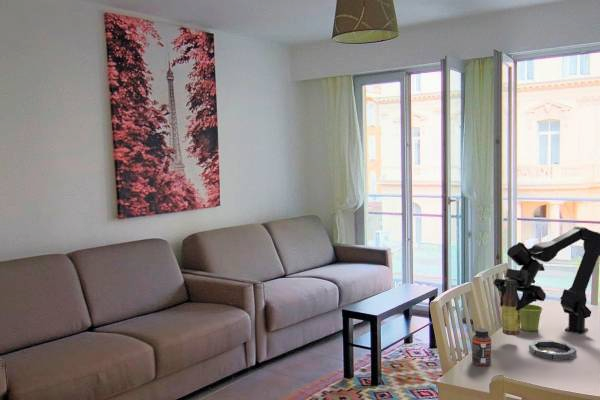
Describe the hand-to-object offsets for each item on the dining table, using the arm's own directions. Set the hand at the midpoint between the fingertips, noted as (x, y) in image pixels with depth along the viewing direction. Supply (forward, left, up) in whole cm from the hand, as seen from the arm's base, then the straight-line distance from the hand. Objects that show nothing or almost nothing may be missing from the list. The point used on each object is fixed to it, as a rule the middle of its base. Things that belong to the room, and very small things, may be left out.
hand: (508, 308), depth 209 cm
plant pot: (-21, -2, -13) cm, 25 cm away
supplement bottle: (+24, +2, -13) cm, 27 cm away
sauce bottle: (-1, 0, -10) cm, 10 cm away
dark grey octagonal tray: (-1, +15, -13) cm, 20 cm away
